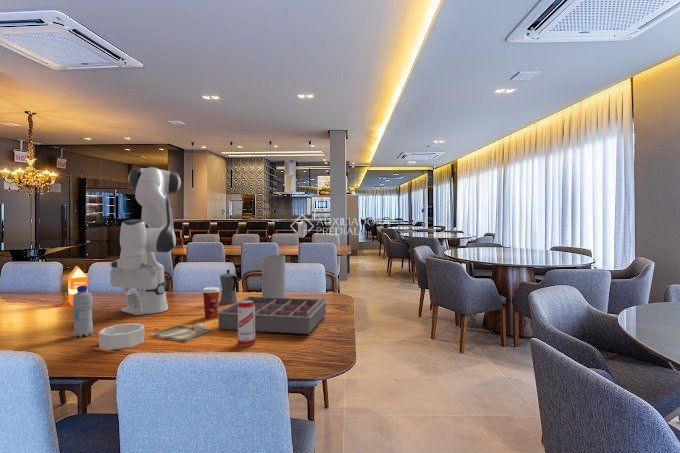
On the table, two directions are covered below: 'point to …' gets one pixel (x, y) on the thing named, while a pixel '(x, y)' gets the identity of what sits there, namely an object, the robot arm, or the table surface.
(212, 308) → the paper cup
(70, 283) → the orange juice
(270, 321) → the organizer tray
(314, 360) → the table surface
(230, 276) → the coffeepot
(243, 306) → the beer can
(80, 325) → the bottle
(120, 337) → the ceramic bowl
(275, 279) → the cylinder vase
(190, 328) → the oak tray
